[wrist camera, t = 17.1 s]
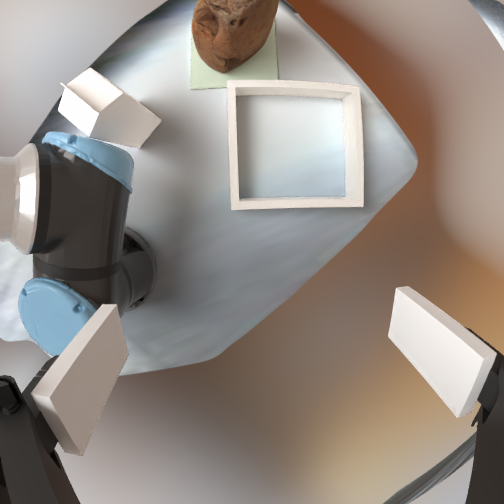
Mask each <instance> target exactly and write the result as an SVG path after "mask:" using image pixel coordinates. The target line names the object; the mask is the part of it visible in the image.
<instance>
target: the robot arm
mask: <svg viewBox="0 0 504 504" xmlns="http://www.w3.org/2000/svg"><path fill="white" fill-rule="evenodd" d="M133 169H134V162H133V159H132V157H131V155H130V154H129V153H128V152H126V151H125V150H123V149H121V148H118V147H116V146H113V145H110V144H107V143H104V142H101V141H97V140H94V139H90V138H86V137H82V136H78V137H77V136H76V135H71V134H68V133H62V132H48V133H46V135H45V137H44V138H43V140H42V144H34V143H29V144H27V145H26V146H25V147H24V148H23V149H22V150H21V151H20V152H19V153H17V155H16V156H14V157H0V242H4V241H9V242H10V243H12V244H13V245H14V246H15V247H16V248H17V249H18V250H19V251H20V252H21V253H22V254H33V278H32V279H31V280H29V281H28V282H27V283H26V284H25V286H24V288H23V289H22V291H21V293H20V296H19V302H18V303H19V313H20V316H21V319H22V322H23V324H24V326H25V328H26V330H27V332H28V333H29V335H30V336H31V337H32V339H34V340H35V341H36V342H37V344H38V345H39V346H40V347H41V348H42V349H43V350H45V351H46V352H47V353H49V354H51V355H52V356H54V357H53V358H51V359H50V360H48V361H47V362H46V363H45V364H44V366H43V367H42V368H41V371H39V372H38V373H37V374H36V377H34V378H33V379H32V381H31V382H30V383H29V385H28V386H27V387H26V389H25V390H24V391H23V392H22V394H21V392H20V390H19V388H18V386H17V384H16V381H15V379H14V378H13V377H11V376H6V375H3V376H0V504H80V502H79V500H78V498H77V496H76V494H75V492H74V490H73V488H72V486H71V484H70V481H69V479H68V477H67V475H66V473H65V470H64V468H63V465H62V463H61V460H60V458H59V456H58V454H57V452H56V451H55V449H54V448H55V446H56V444H57V442H59V444H60V445H61V447H62V449H63V450H64V451H65V452H67V453H71V454H75V455H79V456H83V455H84V452H85V450H86V448H87V445H88V443H89V440H90V438H91V436H92V433H93V431H94V428H95V426H96V424H97V422H98V419H99V417H100V415H101V413H102V411H103V408H104V406H105V404H106V402H107V400H108V397H109V395H110V393H111V391H112V389H113V387H114V384H115V382H116V380H117V378H118V376H119V374H120V372H121V370H122V368H123V366H124V364H125V362H126V360H127V357H128V355H129V353H128V350H127V346H126V342H125V338H124V334H123V330H122V325H121V321H120V318H121V317H122V315H123V314H124V312H127V311H129V310H132V309H134V308H136V307H138V306H139V305H141V304H142V303H143V302H144V301H145V300H146V299H147V297H148V296H149V294H150V293H151V291H152V289H153V287H154V284H155V281H156V273H157V271H156V262H155V258H154V255H153V253H152V251H151V249H150V247H149V246H148V244H147V243H146V241H145V240H144V239H143V238H142V237H141V236H140V235H138V234H137V233H136V232H134V231H133V230H131V229H129V228H126V227H125V223H126V215H127V208H128V202H129V195H130V194H131V193H132V187H131V183H132V176H133ZM388 337H389V338H390V339H391V340H392V341H393V343H394V344H395V345H396V346H397V347H398V348H399V349H400V351H401V352H402V353H403V354H404V355H405V356H406V357H407V359H408V360H409V361H410V362H411V363H412V364H413V366H414V367H415V368H416V369H417V370H418V371H419V372H420V374H421V375H422V376H423V377H424V378H425V380H426V381H427V382H428V383H429V384H430V386H431V387H432V388H433V389H434V390H435V392H436V393H437V394H438V395H439V396H440V398H441V399H442V400H443V401H444V402H445V404H446V405H447V406H448V407H449V408H450V409H451V411H452V412H453V413H454V415H455V416H456V417H457V418H460V417H462V416H464V415H466V414H469V413H471V412H472V410H473V408H474V406H475V404H476V401H477V400H478V401H479V402H480V403H481V407H480V409H479V411H478V413H477V415H476V417H475V419H474V420H473V422H472V425H471V426H474V424H475V423H476V422H477V421H478V425H477V437H476V446H475V454H474V461H473V469H472V474H471V480H470V485H469V490H468V495H467V499H466V503H465V504H504V356H503V355H502V354H501V353H500V352H499V351H497V350H496V349H495V348H494V347H492V346H491V345H490V344H489V343H487V342H486V341H484V340H483V339H482V338H481V337H478V335H477V334H475V333H474V332H473V331H472V330H471V329H468V328H466V327H464V326H462V325H461V324H459V323H458V322H457V321H455V320H454V319H453V318H451V317H450V316H449V315H447V314H446V313H445V312H443V311H442V310H441V309H439V308H438V307H437V306H435V305H434V304H432V303H431V302H430V301H428V300H427V299H426V298H424V297H423V296H421V295H420V294H419V293H417V292H416V291H415V290H413V289H412V288H410V287H409V286H406V287H398V288H396V292H395V299H394V305H393V312H392V318H391V323H390V329H389V334H388Z"/></svg>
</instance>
